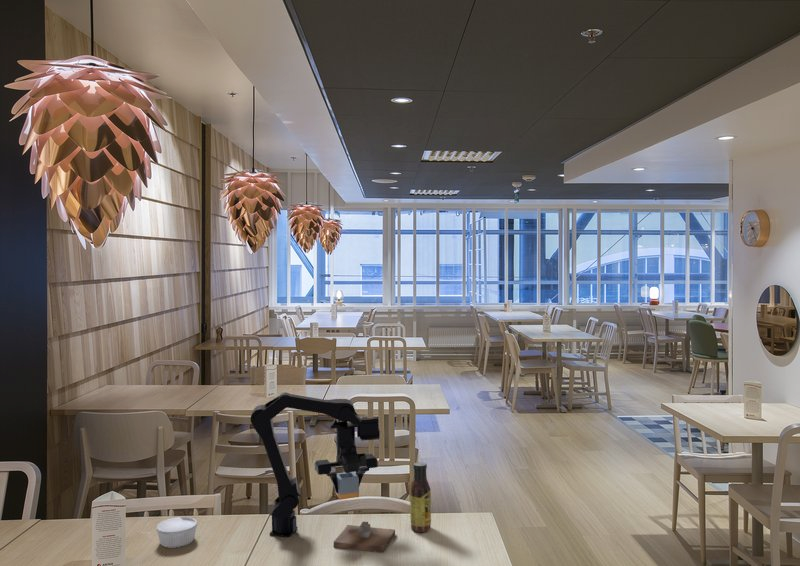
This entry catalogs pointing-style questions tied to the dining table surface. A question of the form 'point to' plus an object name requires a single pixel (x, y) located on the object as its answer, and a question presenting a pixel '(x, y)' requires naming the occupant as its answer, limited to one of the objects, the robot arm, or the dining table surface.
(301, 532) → the dining table surface
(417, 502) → the sauce bottle
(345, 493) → the sleeve
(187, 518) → the ramekin
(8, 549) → the dining table surface
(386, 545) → the pin board
